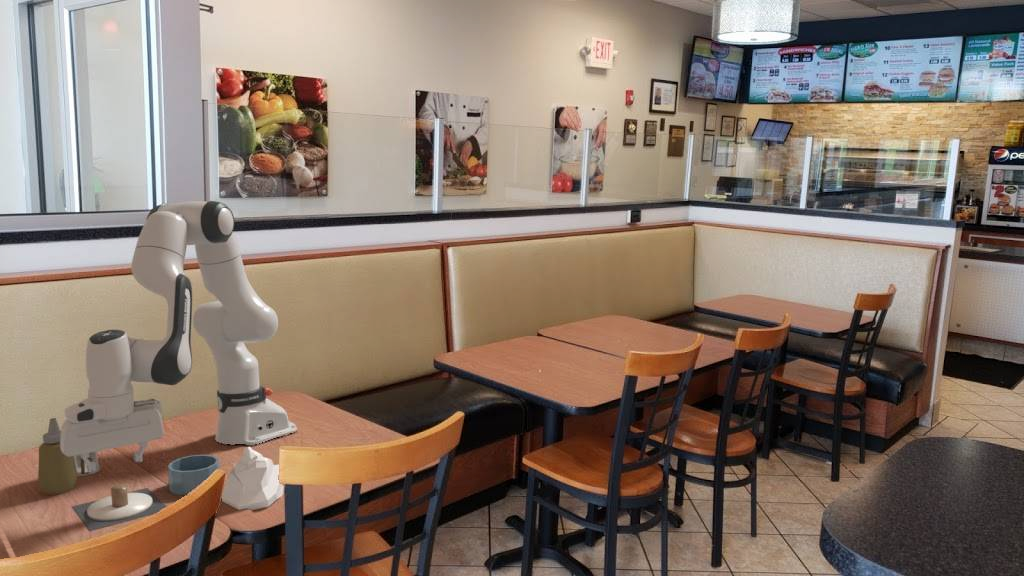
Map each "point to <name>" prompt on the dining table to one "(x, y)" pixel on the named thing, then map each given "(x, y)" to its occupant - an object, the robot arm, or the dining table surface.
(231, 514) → the dining table surface
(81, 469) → the beer glass
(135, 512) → the lid
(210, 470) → the bowl
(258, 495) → the white faceted lump
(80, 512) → the mat
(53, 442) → the squeeze bottle
